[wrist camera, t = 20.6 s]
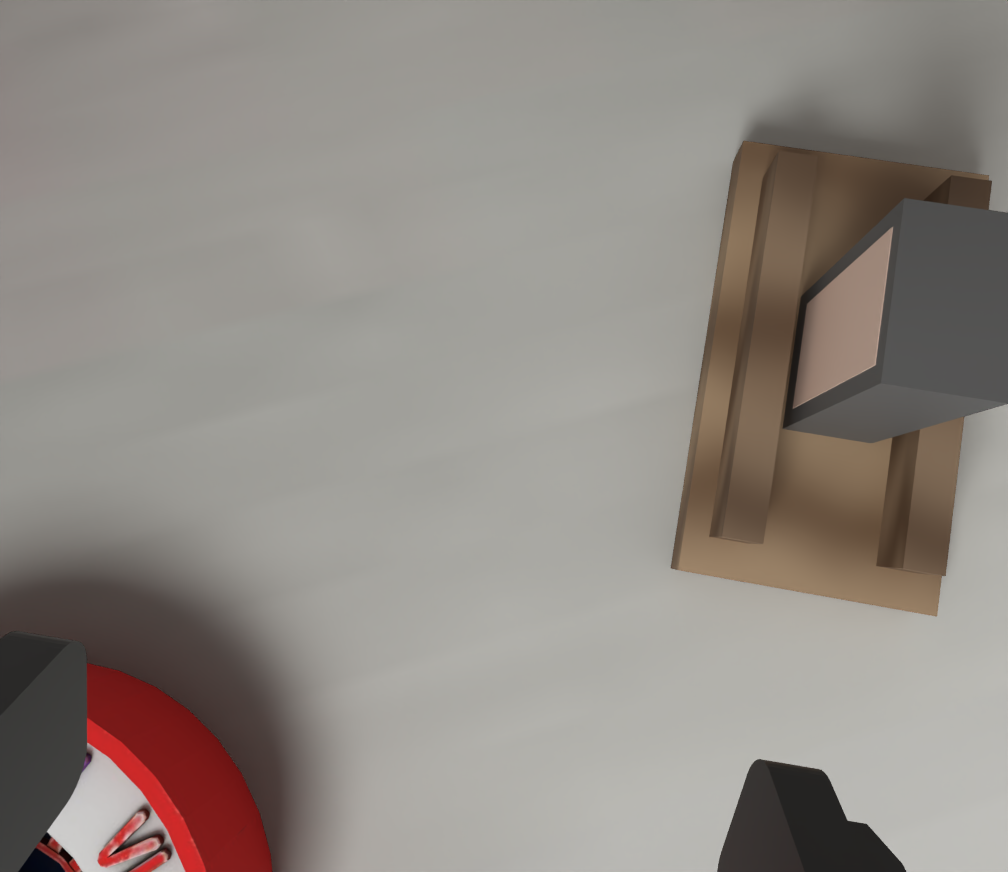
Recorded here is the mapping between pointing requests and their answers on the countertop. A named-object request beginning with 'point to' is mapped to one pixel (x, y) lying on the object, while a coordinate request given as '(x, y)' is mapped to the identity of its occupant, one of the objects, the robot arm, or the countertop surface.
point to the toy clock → (151, 792)
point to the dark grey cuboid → (905, 327)
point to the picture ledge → (763, 393)
